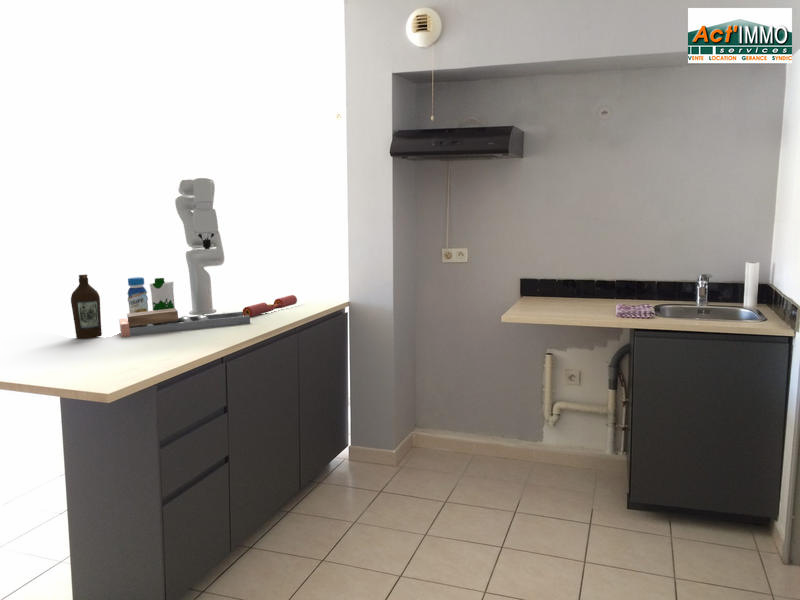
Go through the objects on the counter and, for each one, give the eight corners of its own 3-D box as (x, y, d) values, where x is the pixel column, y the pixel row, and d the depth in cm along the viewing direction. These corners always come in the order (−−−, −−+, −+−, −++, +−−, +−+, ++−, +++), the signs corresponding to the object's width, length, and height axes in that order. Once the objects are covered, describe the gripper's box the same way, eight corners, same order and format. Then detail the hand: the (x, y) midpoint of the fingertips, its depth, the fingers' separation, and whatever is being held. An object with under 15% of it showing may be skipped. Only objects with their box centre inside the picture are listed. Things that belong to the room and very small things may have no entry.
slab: (128, 323, 288) (127, 313, 288) (176, 317, 295) (175, 308, 295) (129, 326, 279) (127, 316, 278) (178, 320, 286) (177, 310, 286)
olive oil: (72, 336, 282) (66, 275, 279) (100, 333, 288) (94, 273, 285) (77, 340, 273) (70, 276, 270) (105, 336, 279) (99, 274, 276)
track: (120, 330, 292) (119, 319, 291) (242, 318, 312) (241, 307, 311) (122, 337, 276) (120, 324, 276) (250, 323, 296) (249, 311, 296)
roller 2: (163, 328, 296) (160, 319, 295) (172, 324, 298) (169, 316, 297) (166, 332, 285) (162, 323, 284) (176, 328, 287) (172, 319, 286)
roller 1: (155, 326, 293) (146, 331, 292) (149, 318, 292) (141, 323, 291) (157, 330, 283) (148, 335, 282) (151, 322, 282) (143, 327, 281)
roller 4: (197, 323, 302) (196, 314, 301) (206, 322, 303) (205, 313, 303) (201, 327, 291) (200, 318, 290) (211, 326, 292) (210, 316, 292)
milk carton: (151, 324, 305) (147, 279, 303) (160, 321, 314) (156, 277, 312) (170, 324, 304) (166, 278, 302) (179, 320, 313) (175, 276, 311)
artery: (288, 304, 355) (288, 294, 354) (297, 304, 353) (296, 294, 353) (242, 317, 316) (241, 306, 316) (252, 318, 315) (251, 307, 314)
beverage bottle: (153, 320, 318) (149, 276, 315) (144, 323, 310) (140, 278, 307) (135, 320, 319) (131, 277, 316) (126, 323, 311) (122, 279, 308)
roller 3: (180, 325, 299) (179, 316, 298) (190, 324, 300) (188, 315, 300) (184, 329, 288) (182, 320, 287) (194, 327, 290) (192, 318, 289)
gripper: (186, 206, 294) (190, 250, 296) (222, 205, 300) (226, 248, 302) (184, 207, 301) (188, 249, 303) (219, 205, 306) (223, 247, 309)
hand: (207, 248), depth 303 cm, fingers closed
